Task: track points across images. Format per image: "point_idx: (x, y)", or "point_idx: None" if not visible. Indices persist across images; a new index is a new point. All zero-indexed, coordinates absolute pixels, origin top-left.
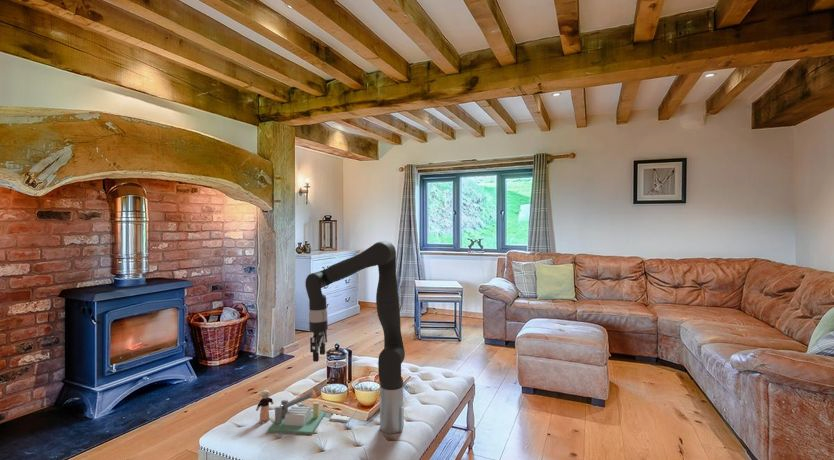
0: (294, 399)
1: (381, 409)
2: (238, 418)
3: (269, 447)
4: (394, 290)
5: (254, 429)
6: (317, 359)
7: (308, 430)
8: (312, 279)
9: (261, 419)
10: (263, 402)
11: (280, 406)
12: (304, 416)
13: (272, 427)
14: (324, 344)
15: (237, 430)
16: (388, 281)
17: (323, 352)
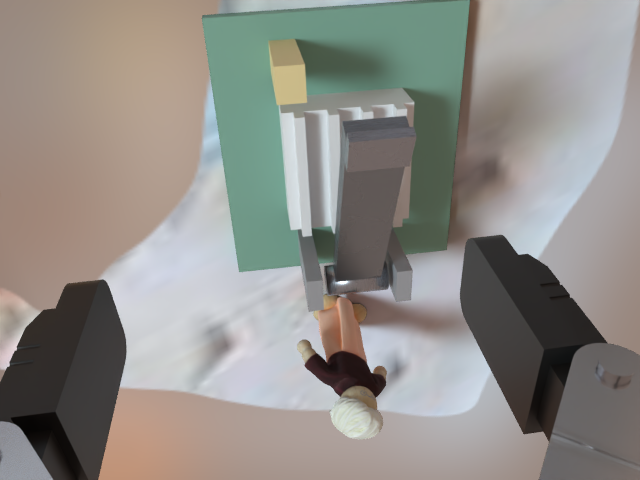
0: (341, 240)
1: None
2: None
3: (574, 167)
4: None
5: (421, 306)
6: (509, 260)
7: (451, 32)
8: None
9: (357, 322)
10: (373, 378)
11: (376, 283)
12: (402, 105)
13: (427, 239)
14: (37, 451)
15: (432, 358)
16: None
17: (101, 319)
